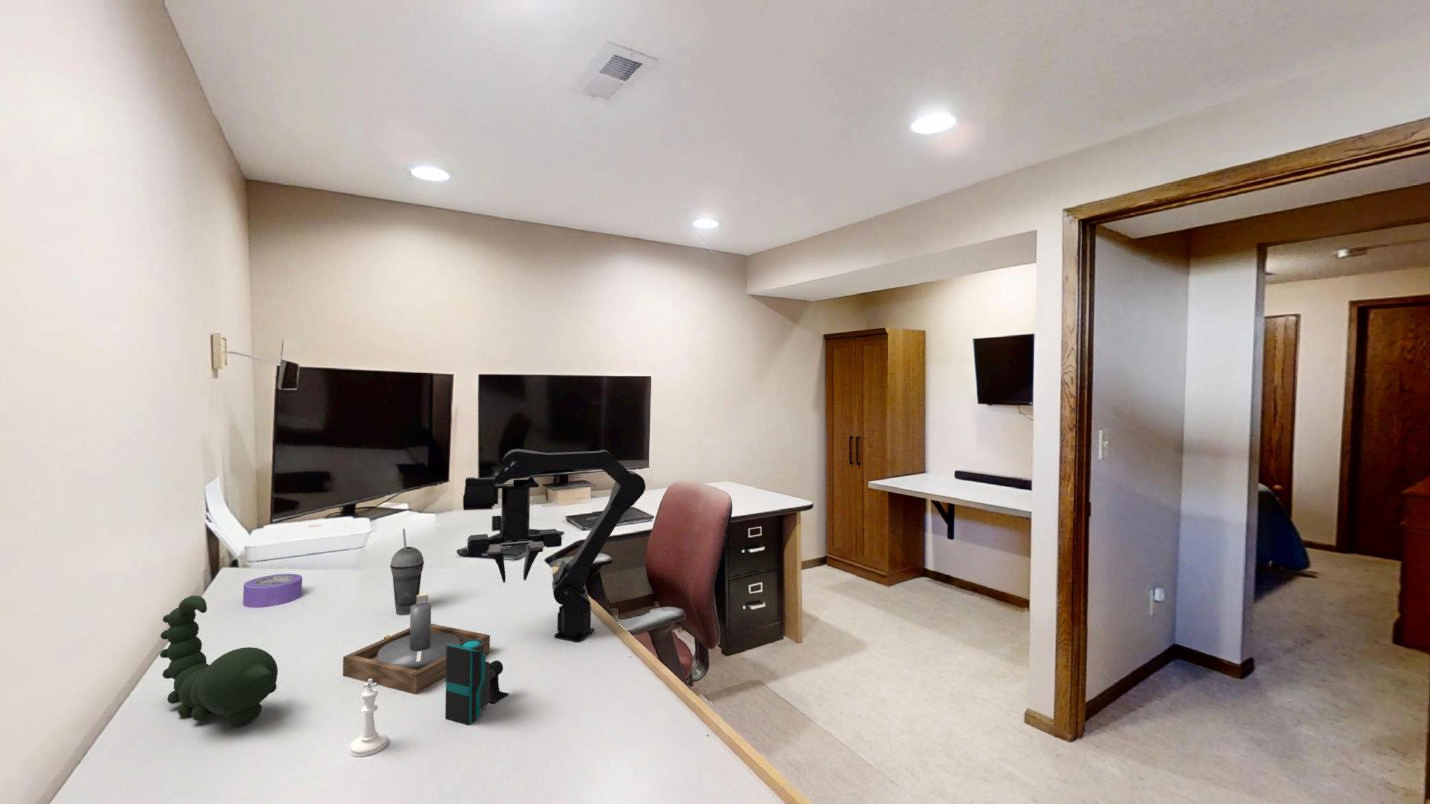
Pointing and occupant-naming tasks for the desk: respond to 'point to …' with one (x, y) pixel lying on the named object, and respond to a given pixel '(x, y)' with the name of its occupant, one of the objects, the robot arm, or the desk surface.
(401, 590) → the beverage cup
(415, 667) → the knob
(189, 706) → the toy figurine
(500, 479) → the robot arm
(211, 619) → the desk surface
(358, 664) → the dial base
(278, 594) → the tape roll
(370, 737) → the chess piece
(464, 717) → the surveillance camera
